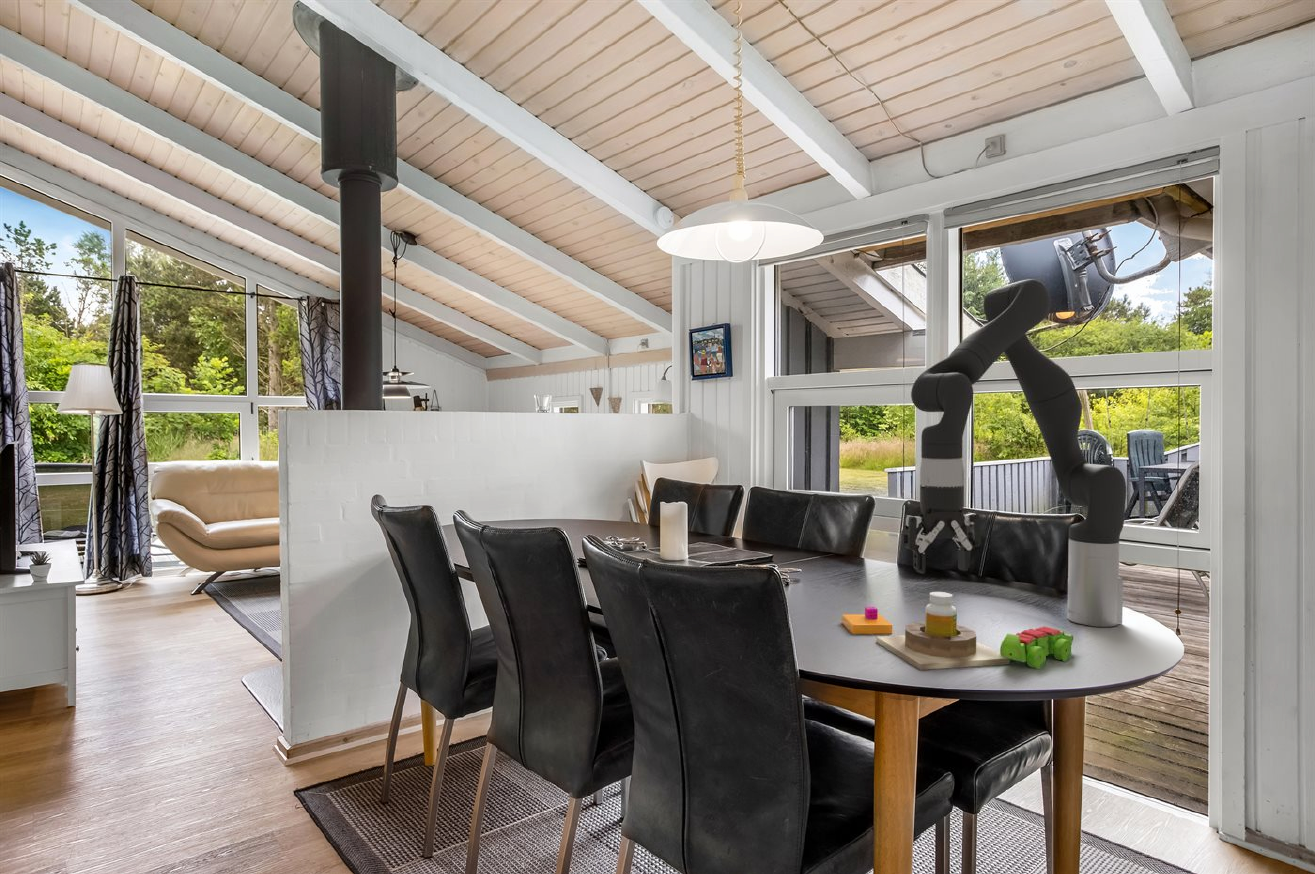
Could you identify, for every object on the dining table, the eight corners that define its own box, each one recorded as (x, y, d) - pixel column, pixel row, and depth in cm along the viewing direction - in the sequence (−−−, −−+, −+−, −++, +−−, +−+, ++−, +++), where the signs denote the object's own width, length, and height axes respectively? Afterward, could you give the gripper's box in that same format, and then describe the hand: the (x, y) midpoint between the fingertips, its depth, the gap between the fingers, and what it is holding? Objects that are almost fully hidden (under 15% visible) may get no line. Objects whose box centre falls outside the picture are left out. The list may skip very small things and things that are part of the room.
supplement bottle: (958, 652, 133) (959, 598, 133) (927, 650, 135) (927, 596, 134) (953, 642, 139) (954, 591, 138) (923, 641, 140) (923, 589, 139)
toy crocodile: (1049, 646, 141) (1050, 614, 141) (1085, 655, 135) (1085, 622, 135) (985, 664, 130) (986, 630, 130) (1021, 675, 125) (1021, 639, 124)
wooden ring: (951, 635, 143) (951, 620, 143) (989, 655, 132) (990, 638, 132) (893, 638, 141) (893, 623, 141) (927, 659, 129) (927, 642, 129)
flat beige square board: (957, 637, 146) (957, 631, 146) (1009, 663, 130) (1009, 658, 130) (876, 641, 143) (876, 636, 143) (920, 669, 127) (920, 663, 127)
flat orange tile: (892, 635, 148) (892, 614, 148) (852, 636, 148) (852, 614, 148) (879, 624, 156) (879, 604, 156) (841, 624, 156) (841, 604, 156)
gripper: (965, 480, 140) (965, 565, 141) (895, 482, 138) (895, 569, 138) (989, 483, 133) (989, 573, 134) (916, 485, 130) (916, 577, 131)
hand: (941, 571), depth 136 cm, fingers open, 8 cm apart
